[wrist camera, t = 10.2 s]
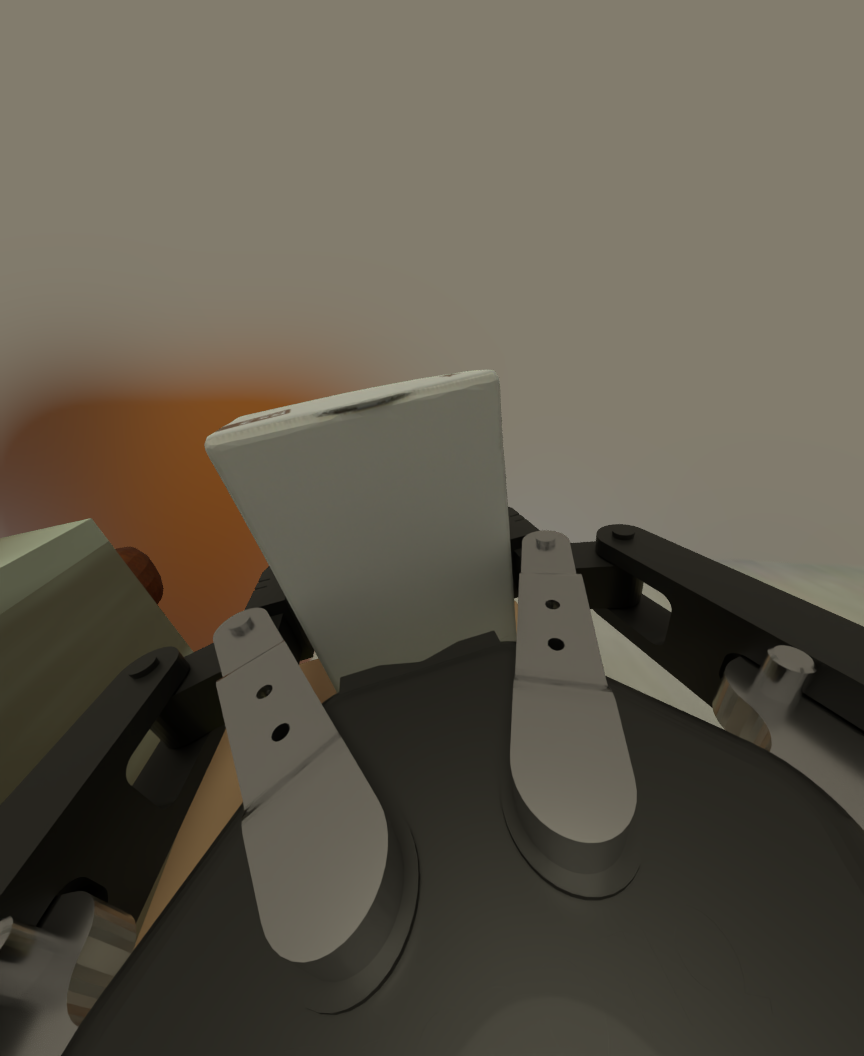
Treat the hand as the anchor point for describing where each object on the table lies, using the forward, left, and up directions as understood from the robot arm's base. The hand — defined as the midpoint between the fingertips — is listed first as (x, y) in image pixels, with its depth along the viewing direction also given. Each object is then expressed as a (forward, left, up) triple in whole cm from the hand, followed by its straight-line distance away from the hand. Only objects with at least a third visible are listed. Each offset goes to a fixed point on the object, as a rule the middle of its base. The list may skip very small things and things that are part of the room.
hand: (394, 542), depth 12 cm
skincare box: (0, -2, -7) cm, 7 cm away
